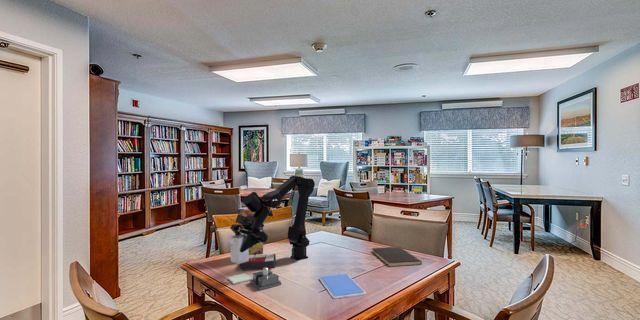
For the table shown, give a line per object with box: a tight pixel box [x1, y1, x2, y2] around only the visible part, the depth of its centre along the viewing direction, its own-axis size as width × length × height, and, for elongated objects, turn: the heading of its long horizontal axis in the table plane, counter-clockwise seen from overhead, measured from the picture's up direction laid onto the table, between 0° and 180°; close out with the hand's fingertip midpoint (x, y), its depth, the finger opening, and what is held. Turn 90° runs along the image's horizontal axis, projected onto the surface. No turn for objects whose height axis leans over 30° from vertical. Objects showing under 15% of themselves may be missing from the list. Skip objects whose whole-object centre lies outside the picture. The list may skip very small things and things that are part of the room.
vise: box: [249, 267, 282, 291], centre depth 121 cm, size 9×9×6 cm
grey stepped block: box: [227, 234, 249, 265], centre depth 125 cm, size 7×5×10 cm
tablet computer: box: [318, 273, 367, 300], centre depth 118 cm, size 19×13×1 cm, turn 16°
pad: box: [226, 272, 253, 285], centre depth 126 cm, size 8×8×1 cm
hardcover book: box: [371, 246, 423, 267], centre depth 153 cm, size 16×23×2 cm
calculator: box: [239, 253, 277, 271], centre depth 143 cm, size 11×4×15 cm
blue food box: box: [237, 207, 264, 255], centre depth 155 cm, size 12×8×24 cm, turn 100°
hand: (236, 250), depth 125 cm, fingers closed on grey stepped block, 5 cm apart
